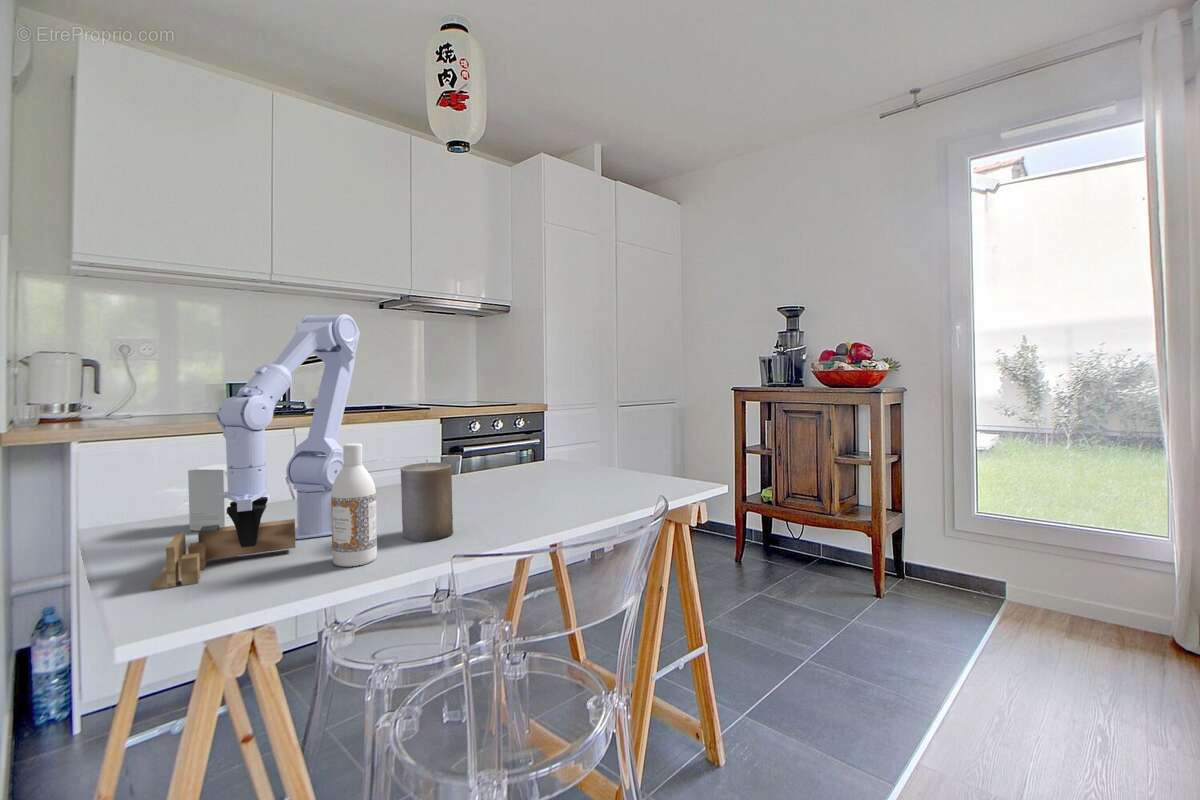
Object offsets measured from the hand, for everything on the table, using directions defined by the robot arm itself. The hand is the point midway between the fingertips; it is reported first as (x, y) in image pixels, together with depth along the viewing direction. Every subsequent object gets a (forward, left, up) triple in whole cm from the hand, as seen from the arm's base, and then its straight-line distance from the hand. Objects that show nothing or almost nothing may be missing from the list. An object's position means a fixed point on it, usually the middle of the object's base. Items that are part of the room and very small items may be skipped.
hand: (249, 543), depth 97 cm
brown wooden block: (0, 0, -2) cm, 2 cm away
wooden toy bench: (+9, +6, -2) cm, 11 cm away
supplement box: (+7, -26, -3) cm, 27 cm away
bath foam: (-16, +11, -3) cm, 20 cm away
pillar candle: (-30, +1, -3) cm, 30 cm away
